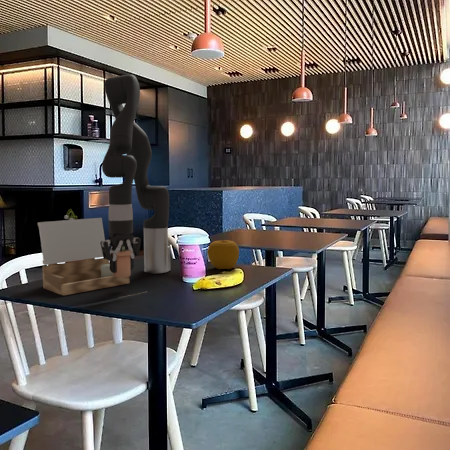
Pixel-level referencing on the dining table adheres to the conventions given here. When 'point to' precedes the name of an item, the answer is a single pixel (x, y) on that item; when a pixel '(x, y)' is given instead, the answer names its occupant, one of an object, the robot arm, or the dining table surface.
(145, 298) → the dining table surface
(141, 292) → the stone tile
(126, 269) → the terracotta pot
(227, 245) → the apple
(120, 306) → the dining table surface
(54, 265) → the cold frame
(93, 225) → the lid
